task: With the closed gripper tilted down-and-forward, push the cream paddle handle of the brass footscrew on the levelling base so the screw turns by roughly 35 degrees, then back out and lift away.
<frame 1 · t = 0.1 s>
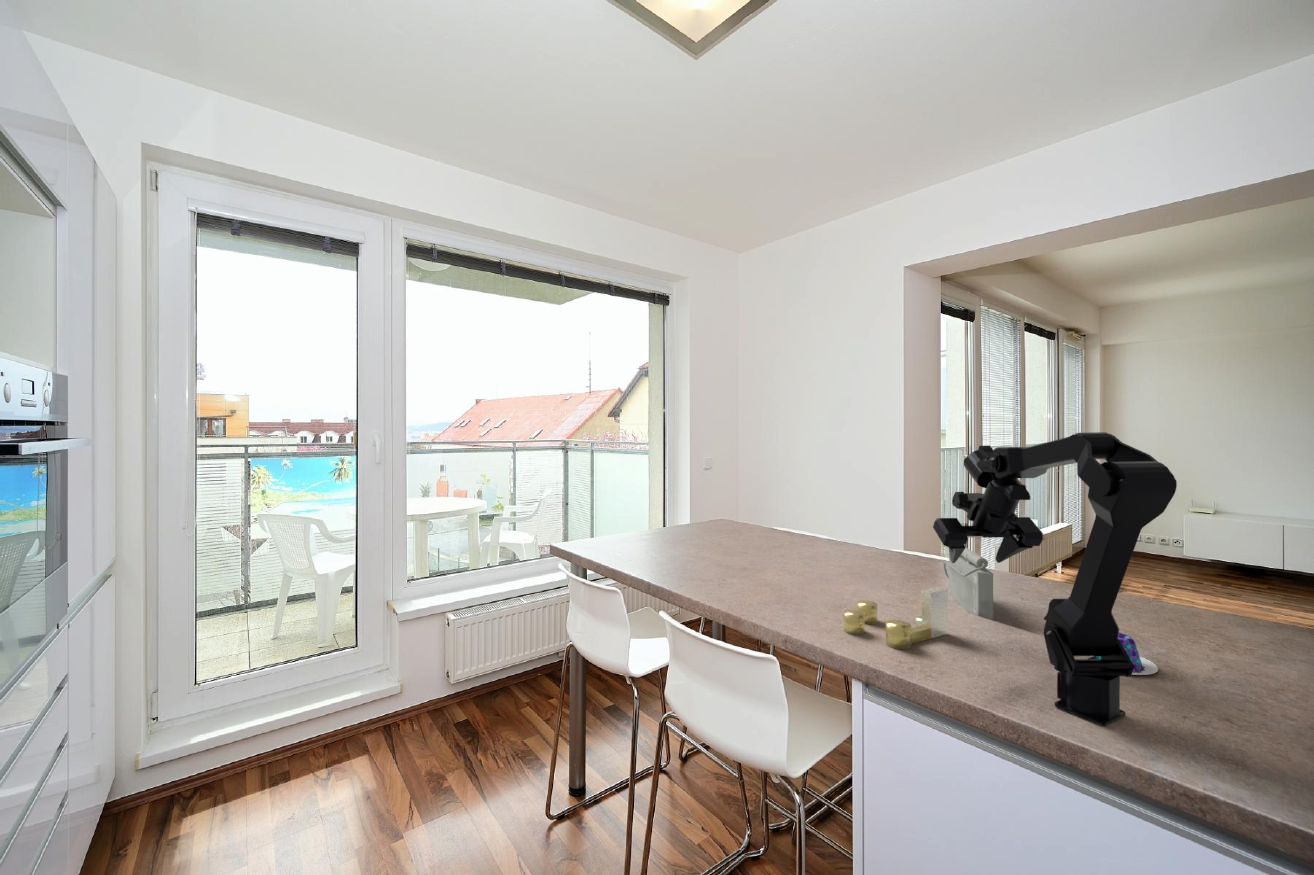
hand: (974, 561, 111), 15 cm above the kitchen island, tool tilted 35°, fingers open, 9 cm apart
geiger counter: (963, 605, 130), on the kitchen island
levelling base: (906, 641, 108), on the kitchen island
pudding: (1112, 664, 97), on the kitchen island
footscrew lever: (917, 616, 105), point 6 cm above the kitchen island, hinge at 0.0°
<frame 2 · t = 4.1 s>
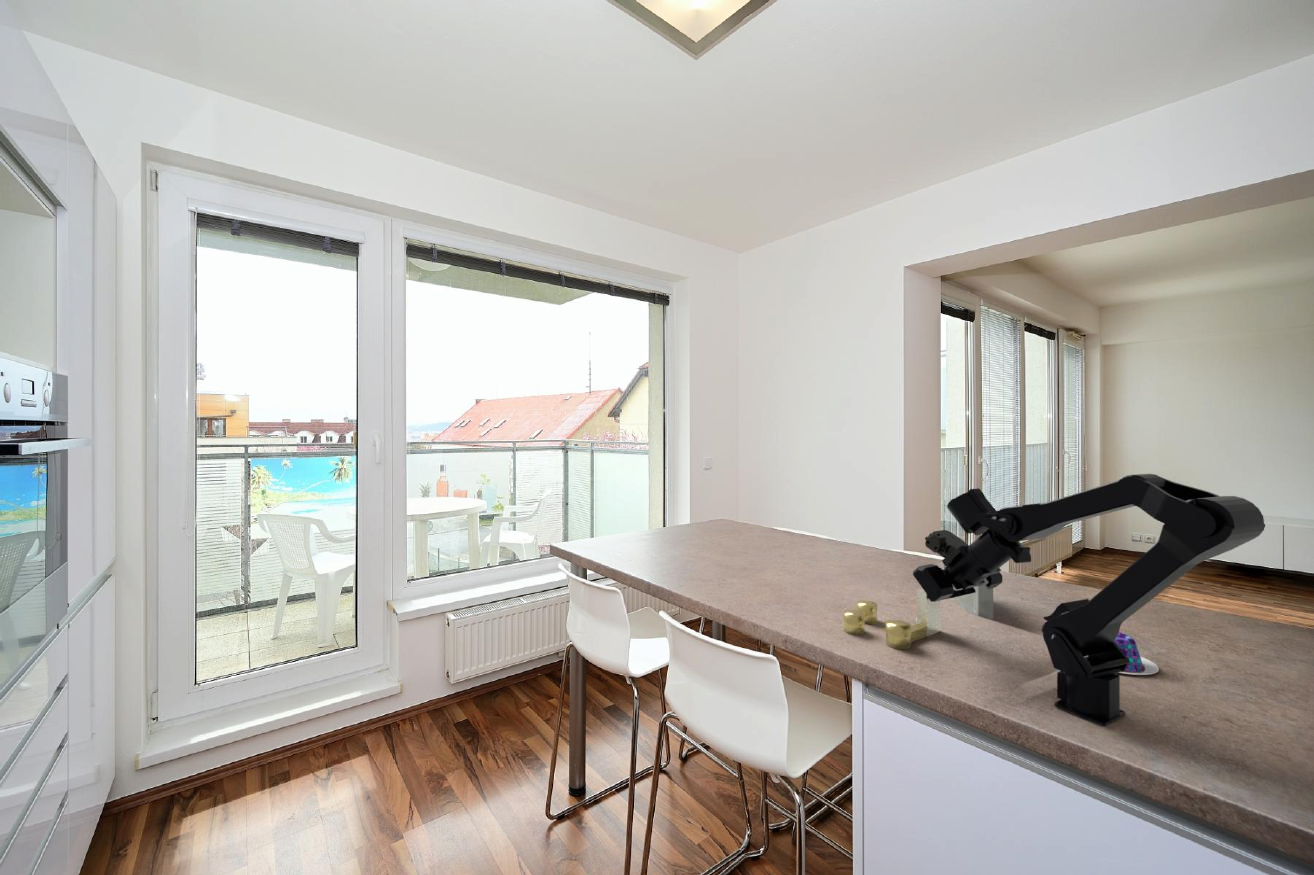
hand: (930, 599, 106), 9 cm above the kitchen island, tool tilted 45°, fingers closed, pressing on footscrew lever
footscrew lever: (914, 615, 105), point 6 cm above the kitchen island, hinge at 7.2°, touching gripper
everything else where it was.
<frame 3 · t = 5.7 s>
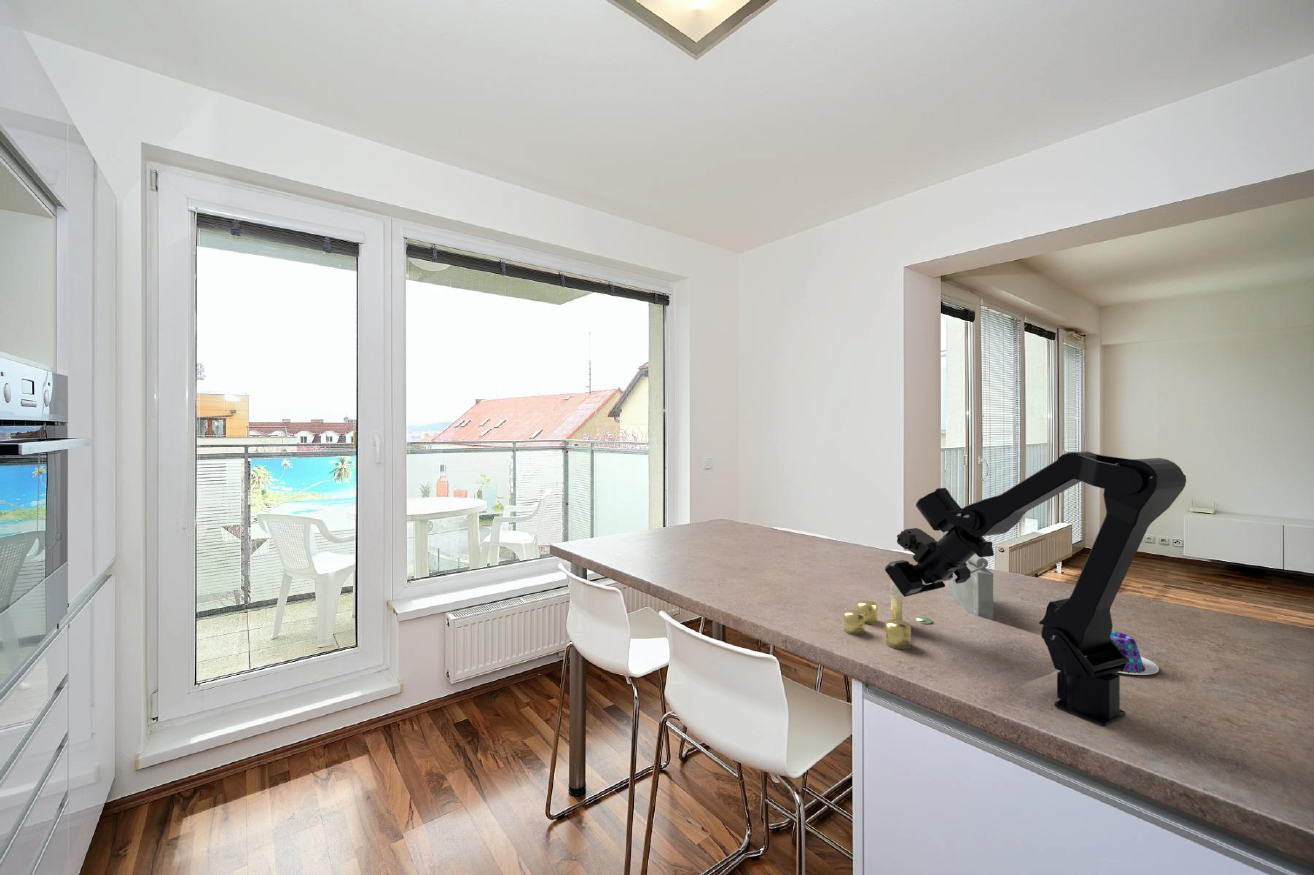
hand: (903, 594, 112), 8 cm above the kitchen island, tool tilted 45°, fingers closed
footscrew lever: (897, 612, 107), point 6 cm above the kitchen island, hinge at 41.2°, touching gripper
everything else where it was.
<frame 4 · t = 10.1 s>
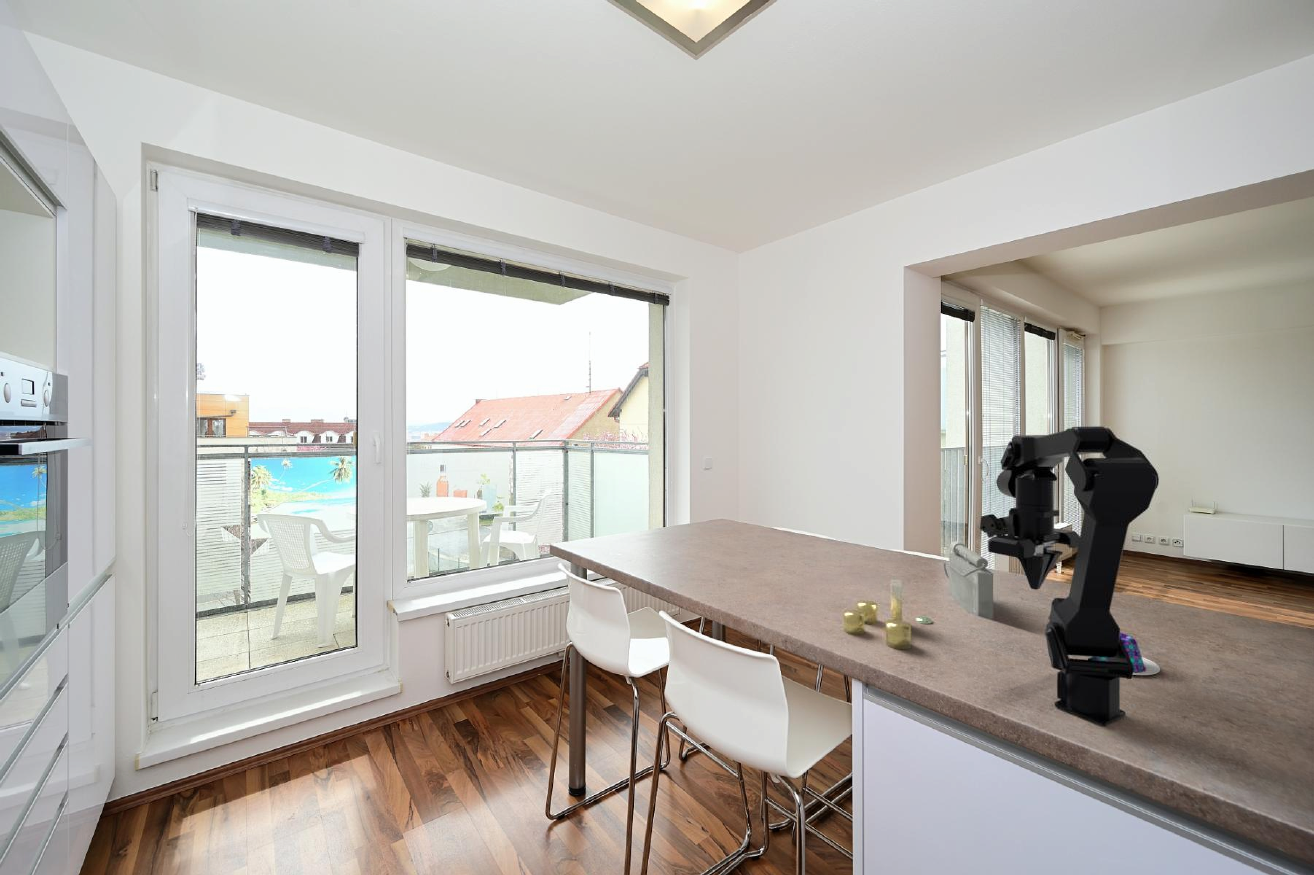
hand: (1034, 589, 98), 13 cm above the kitchen island, tool pointing down, fingers closed
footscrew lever: (897, 612, 107), point 6 cm above the kitchen island, hinge at 41.3°
everything else where it was.
at the end: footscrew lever at +41° (first picture: +0°); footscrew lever touching nothing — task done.
